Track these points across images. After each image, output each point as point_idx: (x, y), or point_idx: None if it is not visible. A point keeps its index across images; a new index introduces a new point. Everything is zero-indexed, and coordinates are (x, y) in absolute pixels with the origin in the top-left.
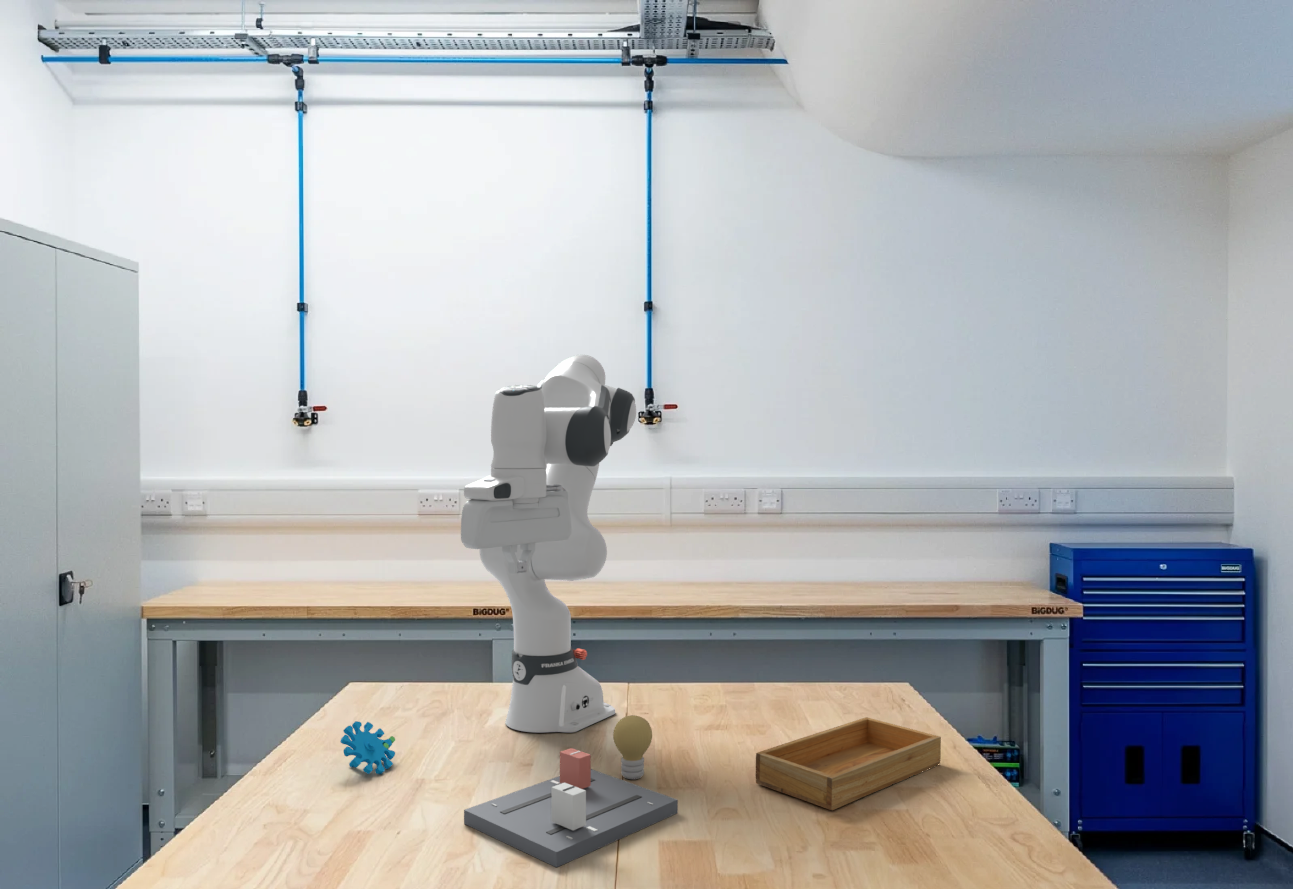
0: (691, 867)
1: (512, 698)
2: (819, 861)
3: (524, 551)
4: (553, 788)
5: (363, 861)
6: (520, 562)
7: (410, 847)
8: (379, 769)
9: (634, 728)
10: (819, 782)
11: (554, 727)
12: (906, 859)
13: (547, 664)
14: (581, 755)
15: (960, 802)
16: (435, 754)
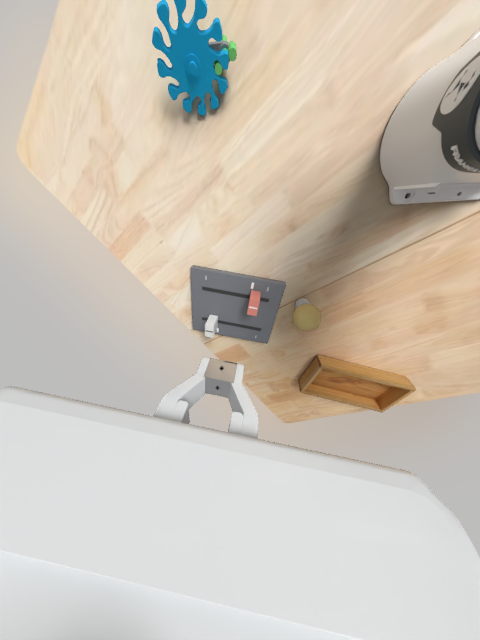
0: (227, 358)
1: (437, 81)
2: (256, 382)
3: (239, 411)
4: (205, 325)
5: (133, 254)
6: (211, 393)
7: (158, 262)
8: (199, 112)
9: (297, 327)
10: (302, 385)
11: (391, 182)
12: (271, 397)
13: (457, 155)
14: (252, 312)
15: (328, 405)
16: (274, 109)
